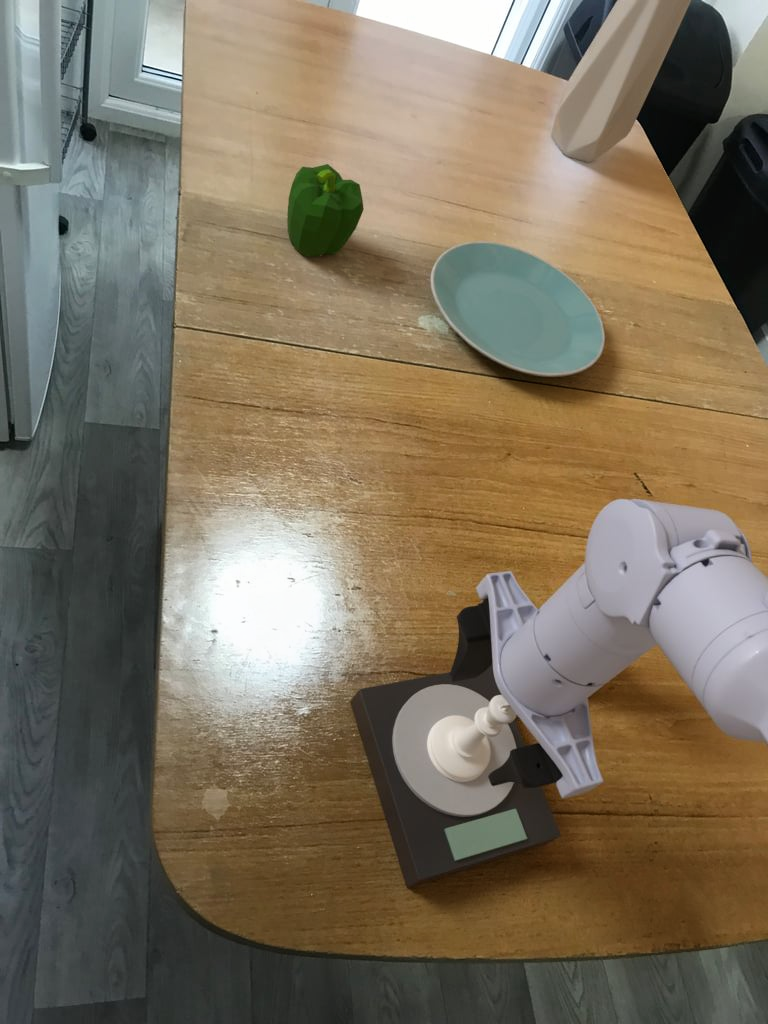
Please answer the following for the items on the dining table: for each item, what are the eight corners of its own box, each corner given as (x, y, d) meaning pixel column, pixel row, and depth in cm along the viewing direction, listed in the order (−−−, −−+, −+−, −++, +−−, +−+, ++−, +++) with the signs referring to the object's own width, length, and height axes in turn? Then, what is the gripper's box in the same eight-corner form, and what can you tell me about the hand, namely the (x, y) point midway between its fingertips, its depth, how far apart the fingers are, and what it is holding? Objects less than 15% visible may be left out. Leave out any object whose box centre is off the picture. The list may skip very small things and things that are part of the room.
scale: (545, 844, 64) (565, 834, 62) (406, 888, 59) (421, 878, 56) (480, 676, 71) (495, 661, 68) (349, 701, 65) (361, 686, 63)
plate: (422, 362, 91) (432, 343, 89) (423, 237, 104) (431, 218, 102) (604, 412, 96) (617, 395, 94) (582, 287, 109) (594, 270, 107)
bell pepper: (324, 215, 100) (348, 140, 92) (359, 262, 97) (387, 189, 89) (262, 222, 95) (282, 143, 88) (296, 271, 92) (320, 195, 85)
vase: (570, 119, 136) (692, -109, 111) (618, 163, 133) (756, -61, 108) (522, 126, 129) (641, -116, 104) (571, 173, 126) (707, -65, 101)
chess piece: (418, 723, 63) (472, 668, 55) (474, 712, 65) (534, 657, 57) (439, 788, 60) (498, 739, 53) (496, 775, 63) (561, 726, 55)
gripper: (687, 746, 47) (569, 814, 58) (580, 530, 54) (492, 626, 65) (588, 773, 44) (482, 839, 55) (488, 541, 51) (411, 639, 62)
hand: (481, 725), depth 59 cm, fingers open, 7 cm apart
